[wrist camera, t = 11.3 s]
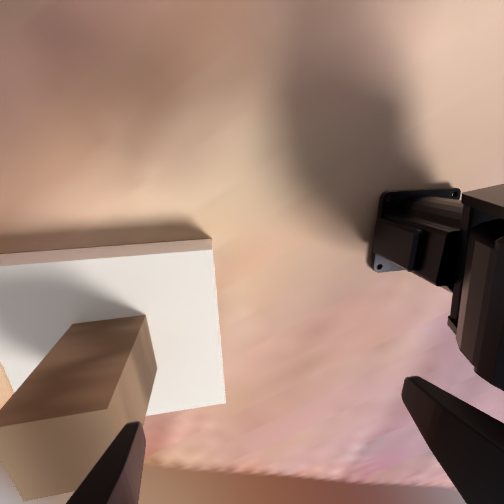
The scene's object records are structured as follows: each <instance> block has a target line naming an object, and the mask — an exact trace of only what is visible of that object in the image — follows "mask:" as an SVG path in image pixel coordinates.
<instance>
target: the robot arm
mask: <svg viewBox="0 0 504 504" xmlns="http://www.w3.org/2000/svg"><path fill="white" fill-rule="evenodd" d="M452 193H453V196H452ZM460 194H461V191H460V189H458V188H434V189H416V190H397V191H385V192H384V193H382V195H381V197H380V202H379V210H378V218H377V221H376V228H375V235H374V243H373V255H372V263H371V268H372V270H374V271H376V272H389V271H399V270H407V271H408V272H412V273H414V274H416V275H417V276H419V277H421V278H423V279H425V280H427V281H428V282H430V283H432V284H434V285H436V286H440V287H442V288H444V289H446V290H447V291H449V292H451V293H453V296H452V305H451V314H450V316H448V323H447V324H448V326H449V327H450V328H451V329H452V331H453V332H454V333H455V335H456V340H457V343H458V346H459V349H460V351H461V352H462V353H463V354H464V356H465V357H466V358H467V359H468V360H469V361H470V363H471V364H472V365H474V371H475V373H476V374H478V375H479V376H480V377H482V378H483V379H485V380H486V381H487V382H489V383H490V384H492V385H493V386H495V387H497V388H499V389H501V390H502V391H504V184H501V185H496V186H492V187H487V188H482V189H478V190H473V191H468V192H464V193H462V199H461V200H459V199H460ZM388 195H389V199H388V200H386V198H387V196H388ZM379 264H380V265H379ZM378 265H379V267H378V268H377V266H378ZM401 395H402V400H403V402H404V404H405V406H406V408H407V409H408V411H409V413H410V415H411V416H412V418H413V420H414V422H415V424H416V425H417V427H418V429H419V431H420V432H421V434H422V436H423V438H424V439H425V441H426V443H427V445H428V446H429V448H430V450H431V451H432V453H433V454H434V456H435V457H436V459H437V460H438V462H439V463H440V465H441V466H442V468H443V469H444V471H445V472H446V474H447V475H448V477H449V478H450V480H451V481H452V483H453V484H454V486H455V487H456V488H457V490H458V491H459V493H460V494H461V496H462V497H463V499H464V500H465V502H466V503H467V504H504V423H502V422H500V421H498V420H497V419H495V418H493V417H491V416H489V415H488V414H486V413H484V412H482V411H480V410H478V409H477V408H475V407H473V406H471V405H469V404H468V403H466V402H464V401H462V400H460V399H459V398H457V397H455V396H453V395H451V394H450V393H448V392H446V391H444V390H442V389H441V388H439V387H437V386H435V385H433V384H432V383H430V382H428V381H426V380H424V379H422V378H421V377H418V376H411V377H406V378H405V380H404V384H403V389H402V394H401ZM145 447H146V440H145V435H144V431H143V427H142V423H141V422H140V421H135V422H129V423H127V424H125V425H124V427H123V428H122V429H121V431H120V432H119V433H118V435H117V436H116V437H115V439H114V440H113V441H112V443H111V444H110V445H109V447H108V448H107V449H106V451H105V452H104V453H103V455H102V456H101V457H100V459H99V460H98V461H97V463H96V464H95V465H94V467H93V468H92V469H91V471H90V472H89V473H88V475H87V476H86V477H85V479H84V480H83V481H82V483H81V484H80V485H79V487H78V488H77V489H76V491H75V492H74V493H73V495H72V496H71V497H70V499H69V500H68V501H67V503H66V504H138V500H139V493H140V484H141V477H142V470H143V462H144V455H145Z"/></svg>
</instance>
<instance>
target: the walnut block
mask: <svg viewBox="0 0 504 504" xmlns="http://www.w3.org/2000/svg"><path fill="white" fill-rule="evenodd" d="M156 372H157V364H156V359H155V355H154V350H153V345H152V341H151V336H150V332H149V327H148V322H147V318H146V315H140V316H132V317H124V318H116V319H107V320H99V321H91V322H83V323H75V324H72V325H71V326H70V327H69V329H68V330H67V331H66V332H65V333H64V335H63V336H62V337H61V338H60V339H59V341H58V342H57V343H56V344H55V345H54V347H53V348H52V349H51V350H50V351H49V352H48V354H47V355H46V356H45V357H44V358H43V360H42V361H41V362H40V363H39V364H38V366H37V367H36V368H35V369H34V370H33V372H32V373H31V374H30V375H29V376H28V377H27V379H26V380H25V381H24V382H23V383H22V385H21V386H20V387H19V388H18V389H17V391H16V392H15V393H14V394H13V395H12V397H11V398H10V399H9V400H8V401H7V402H6V404H5V405H4V406H3V407H2V408H1V410H0V460H1V462H2V463H3V465H4V467H5V469H6V471H7V472H8V474H9V476H10V478H11V479H12V481H13V483H14V485H15V487H16V488H17V490H18V492H19V494H20V496H21V497H22V499H23V501H28V500H33V499H38V498H43V497H48V496H53V495H58V494H62V493H68V492H73V491H76V489H77V488H78V487H79V485H80V484H81V483H82V481H83V480H84V479H85V477H86V476H87V475H88V473H89V472H90V471H91V469H92V468H93V467H94V465H95V464H96V463H97V461H98V460H99V459H100V457H101V456H102V455H103V453H104V452H105V451H106V449H107V448H108V447H109V445H110V444H111V443H112V441H113V440H114V439H115V437H116V436H117V435H118V433H119V432H120V431H121V429H122V428H123V427H124V425H125V424H127V423H129V422H135V421H140V422H141V423H142V427H143V425H144V421H145V417H146V413H147V409H148V405H149V400H150V396H151V392H152V388H153V384H154V380H155V376H156Z"/></svg>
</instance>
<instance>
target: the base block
mask: <svg viewBox="0 0 504 504" xmlns="http://www.w3.org/2000/svg"><path fill="white" fill-rule="evenodd" d="M140 315H146V318H147V322H148V327H149V332H150V336H151V341H152V345H153V350H154V355H155V359H156V364H157V372H156V376H155V380H154V384H153V388H152V392H151V396H150V400H149V405H148V409H147V413H146V416H148V415H154V414H161V413H167V412H173V411H179V410H185V409H192V408H198V407H204V406H210V405H217V404H223V403H226V399H225V384H224V372H223V360H222V349H221V337H220V326H219V314H218V303H217V291H216V279H215V268H214V256H213V245H212V239H199V240H186V241H172V242H159V243H145V244H131V245H118V246H104V247H91V248H77V249H63V250H50V251H36V252H23V253H9V254H0V361H1V363H2V366H3V368H4V370H5V372H6V375H7V377H8V379H9V381H10V384H11V386H12V388H13V390H14V393H15V392H16V391H17V389H18V388H19V387H20V386H21V385H22V383H23V382H24V381H25V380H26V379H27V377H28V376H29V375H30V374H31V373H32V372H33V370H34V369H35V368H36V367H37V366H38V364H39V363H40V362H41V361H42V360H43V358H44V357H45V356H46V355H47V354H48V352H49V351H50V350H51V349H52V348H53V347H54V345H55V344H56V343H57V342H58V341H59V339H60V338H61V337H62V336H63V335H64V333H65V332H66V331H67V330H68V329H69V327H70V326H71V325H72V324H75V323H83V322H91V321H99V320H107V319H116V318H124V317H132V316H140Z"/></svg>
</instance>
